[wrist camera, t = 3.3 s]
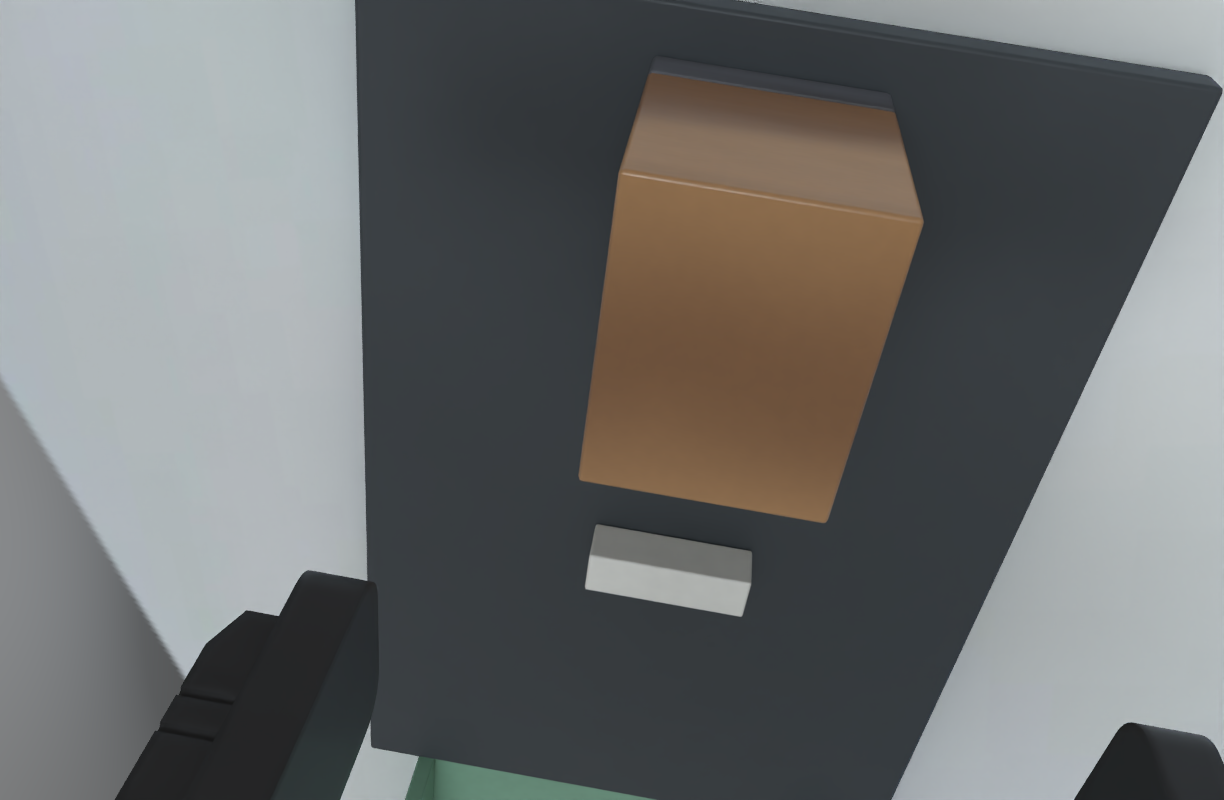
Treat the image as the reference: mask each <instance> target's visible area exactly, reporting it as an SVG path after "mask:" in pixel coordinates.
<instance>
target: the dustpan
mask: <svg viewBox="0 0 1224 800" xmlns="http://www.w3.org/2000/svg"><path fill="white" fill-rule="evenodd" d="M405 800H655V799H649V798H644V797H638V796H633V795H628V794H622V793H617V792H611V791H606V790H600V789H595V788H590V787H584V786H579V785H573V784H568V783H562V782H557V781H551V780H546V779H541V778H535V777H530V776H524V775H519V774H513V773H508V772H503V771H497V770H492V769H486V768H481V767H475V766H470V765H465V764H459V763H454V762H448V761H443V760H437V759H432V758H427V757H421V756H419V758H418V761H417V764H416V767H415V770H414V773H413V777H412V780H411V783H410V786H409V789H408V792H407V795H406V798H405Z"/></svg>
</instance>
